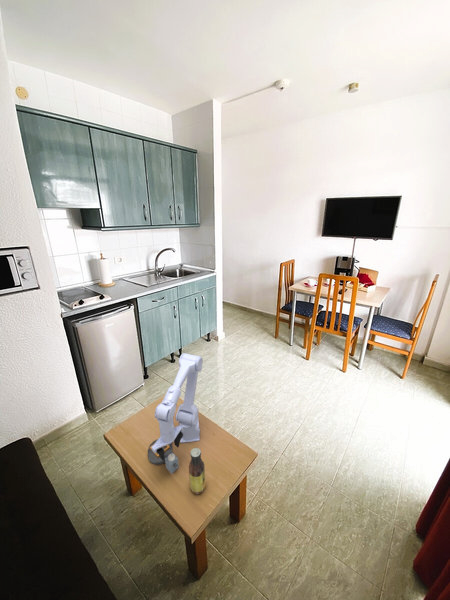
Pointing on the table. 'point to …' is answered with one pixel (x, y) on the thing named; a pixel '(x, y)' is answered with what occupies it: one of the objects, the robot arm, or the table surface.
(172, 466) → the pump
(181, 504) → the table surface
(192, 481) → the sauce bottle
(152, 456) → the grey disc square socket
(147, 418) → the table surface
